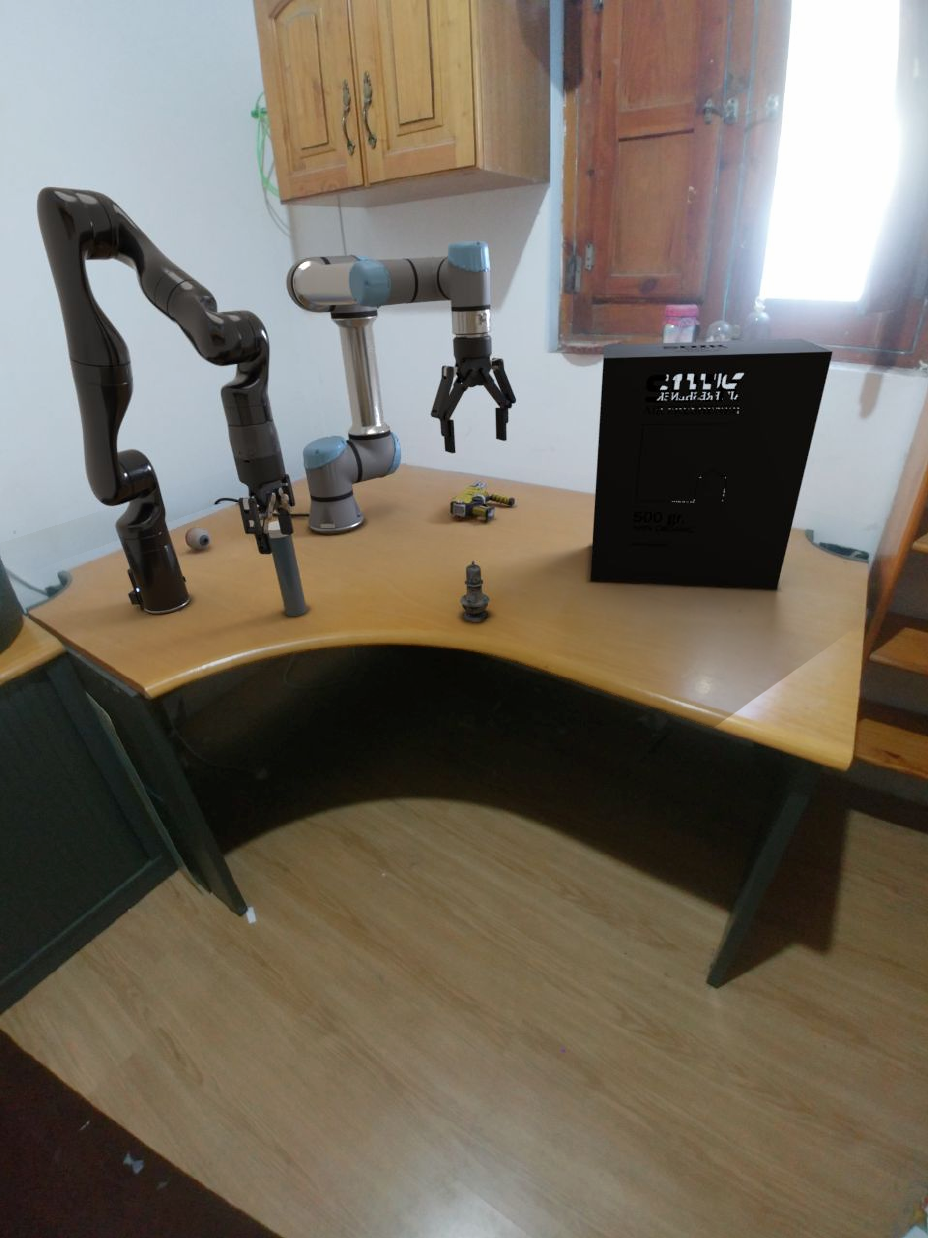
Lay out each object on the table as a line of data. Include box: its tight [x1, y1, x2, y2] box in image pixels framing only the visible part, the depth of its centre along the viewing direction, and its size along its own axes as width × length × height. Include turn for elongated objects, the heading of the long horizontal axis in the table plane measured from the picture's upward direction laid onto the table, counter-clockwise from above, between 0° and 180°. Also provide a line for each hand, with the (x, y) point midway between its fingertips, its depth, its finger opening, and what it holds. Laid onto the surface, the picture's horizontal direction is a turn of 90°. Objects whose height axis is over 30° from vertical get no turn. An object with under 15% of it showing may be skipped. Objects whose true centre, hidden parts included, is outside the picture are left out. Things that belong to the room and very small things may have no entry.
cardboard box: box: [589, 338, 834, 590], centre depth 125 cm, size 38×20×45 cm, turn 78°
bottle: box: [270, 534, 308, 617], centre depth 122 cm, size 4×4×19 cm
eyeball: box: [184, 526, 211, 551], centre depth 157 cm, size 6×6×6 cm
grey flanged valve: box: [459, 560, 491, 623], centre depth 118 cm, size 6×6×12 cm
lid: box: [268, 520, 288, 538], centre depth 117 cm, size 5×5×2 cm
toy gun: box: [449, 480, 516, 522], centre depth 174 cm, size 5×24×15 cm
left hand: (277, 543), depth 105 cm, fingers open, 8 cm apart
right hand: (476, 445), depth 127 cm, fingers open, 13 cm apart
